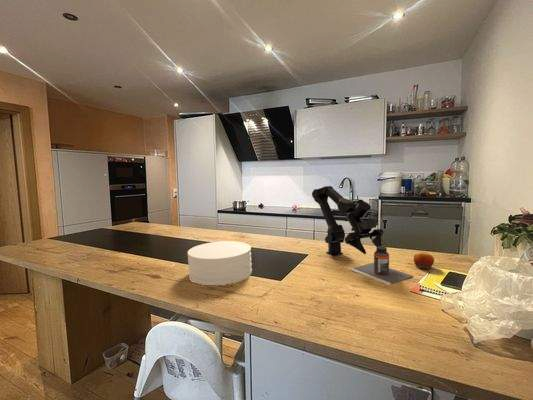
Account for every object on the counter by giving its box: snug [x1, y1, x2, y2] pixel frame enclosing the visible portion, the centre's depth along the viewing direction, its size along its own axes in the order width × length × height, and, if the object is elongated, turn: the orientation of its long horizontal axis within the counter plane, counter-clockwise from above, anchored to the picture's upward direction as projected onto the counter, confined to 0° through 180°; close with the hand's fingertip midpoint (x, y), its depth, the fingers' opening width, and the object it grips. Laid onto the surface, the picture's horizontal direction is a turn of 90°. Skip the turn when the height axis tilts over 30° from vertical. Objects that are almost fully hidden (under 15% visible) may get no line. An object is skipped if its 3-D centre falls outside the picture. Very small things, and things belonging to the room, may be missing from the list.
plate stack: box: [187, 240, 253, 286], centre depth 122 cm, size 28×28×12 cm
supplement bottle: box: [373, 245, 390, 275], centre depth 115 cm, size 6×6×11 cm
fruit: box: [413, 251, 435, 271], centre depth 121 cm, size 8×8×8 cm
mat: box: [349, 262, 414, 286], centre depth 116 cm, size 20×16×1 cm
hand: (373, 252), depth 119 cm, fingers open, 9 cm apart
